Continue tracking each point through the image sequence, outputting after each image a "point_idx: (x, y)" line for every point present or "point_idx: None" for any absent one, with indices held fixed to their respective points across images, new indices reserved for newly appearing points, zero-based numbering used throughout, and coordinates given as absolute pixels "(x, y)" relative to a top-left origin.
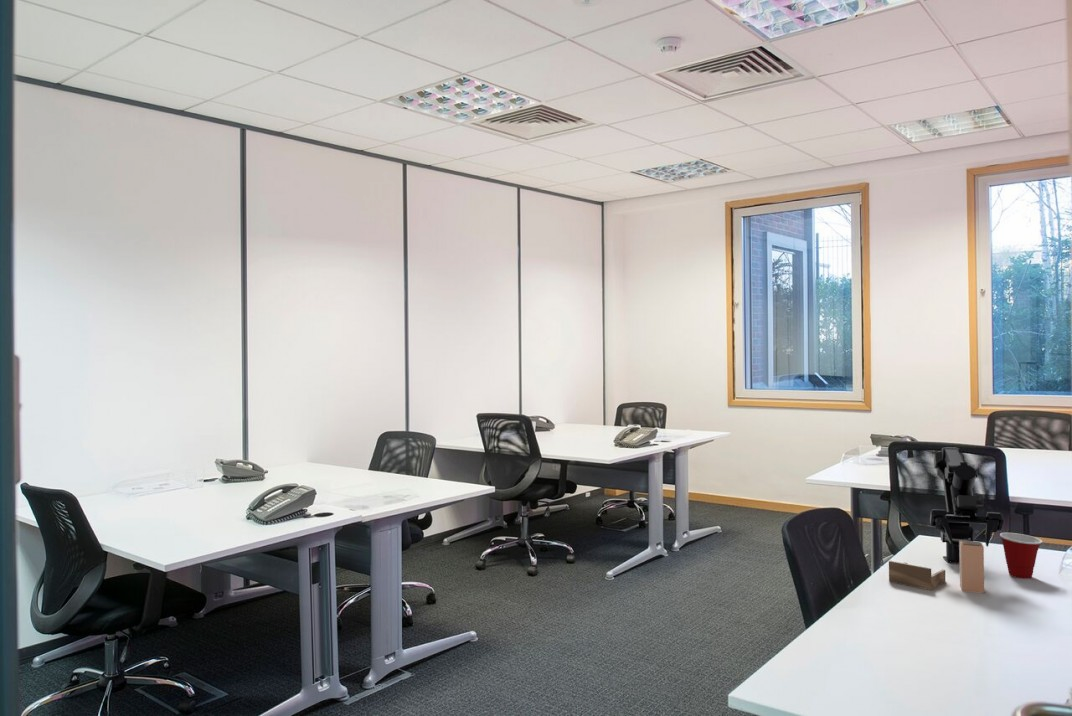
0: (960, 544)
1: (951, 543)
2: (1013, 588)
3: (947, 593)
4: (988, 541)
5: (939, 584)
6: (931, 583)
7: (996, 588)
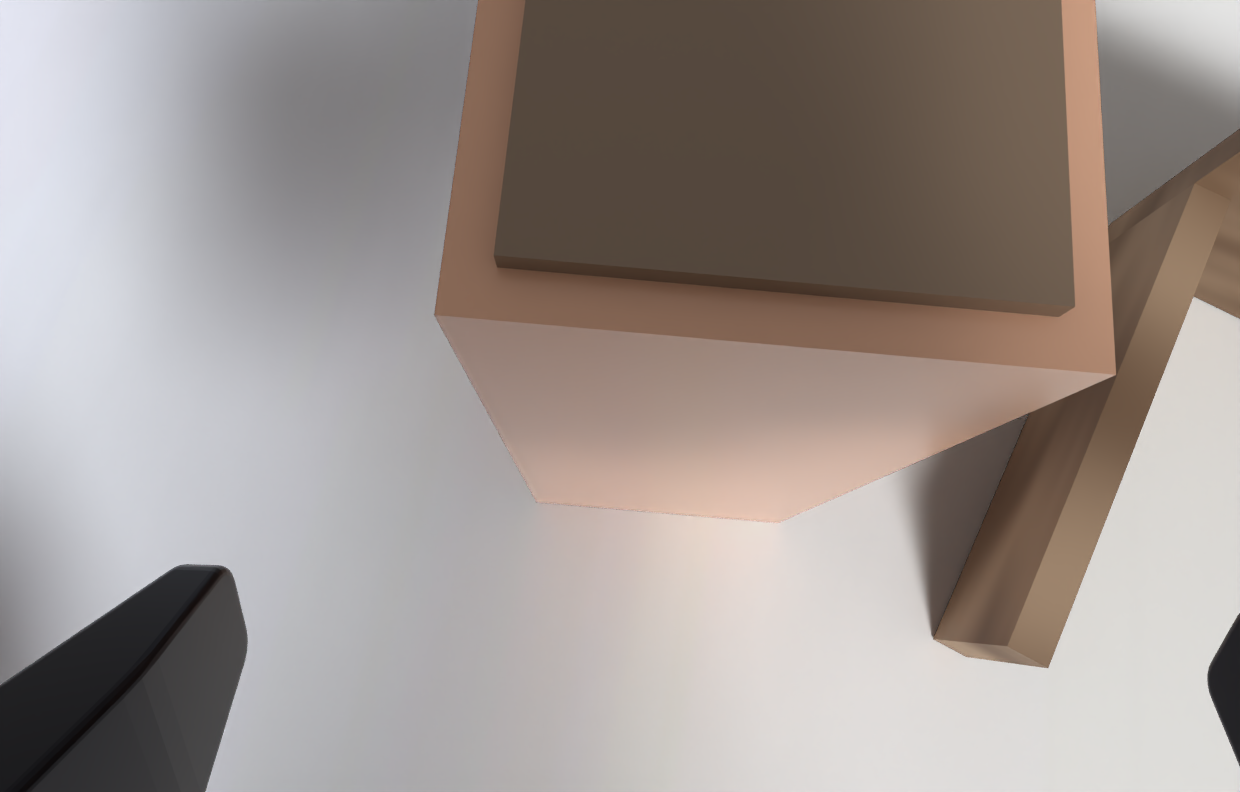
0: (1076, 22)
1: (1232, 646)
2: (155, 579)
3: None
4: (108, 628)
5: (1014, 455)
6: (1143, 216)
7: (368, 516)
